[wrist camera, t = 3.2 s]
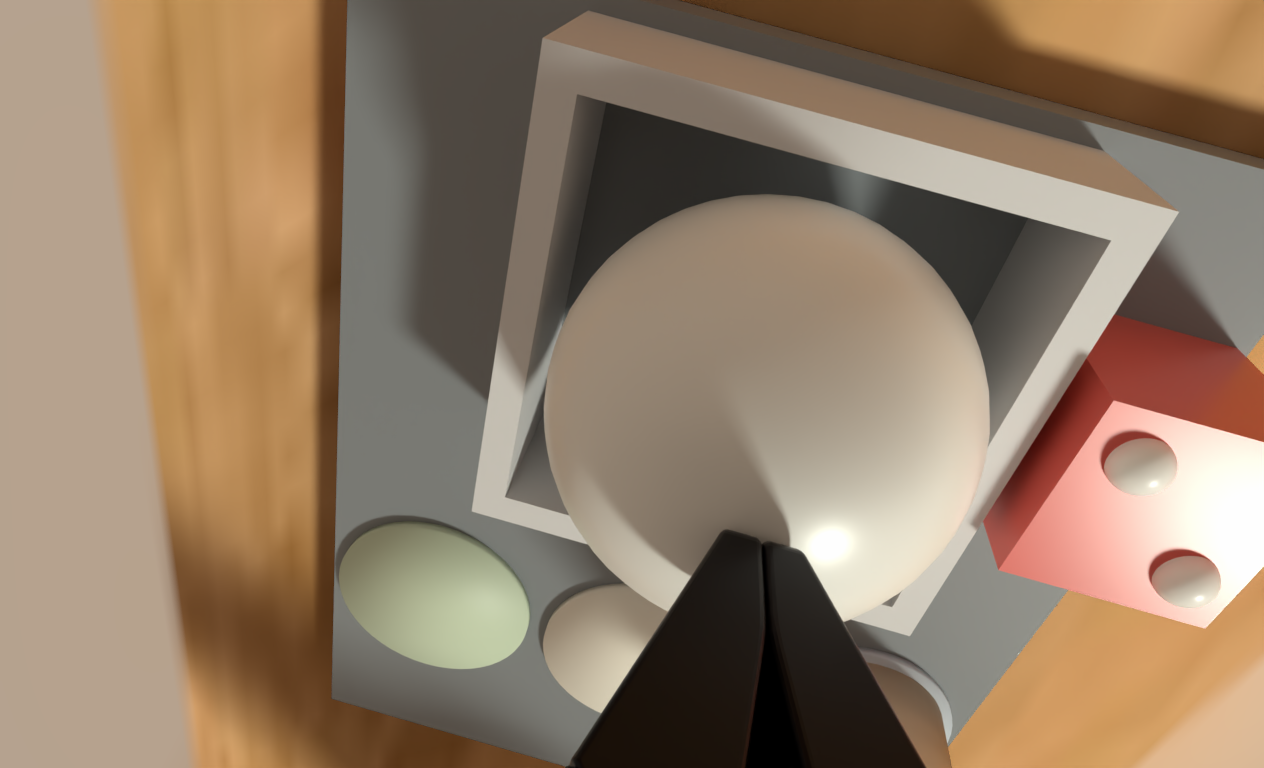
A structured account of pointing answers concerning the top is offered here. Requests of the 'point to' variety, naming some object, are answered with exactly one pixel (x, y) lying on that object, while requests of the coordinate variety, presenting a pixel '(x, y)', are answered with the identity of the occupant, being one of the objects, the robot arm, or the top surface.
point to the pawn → (916, 715)
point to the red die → (1144, 478)
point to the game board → (630, 203)
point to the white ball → (767, 399)
